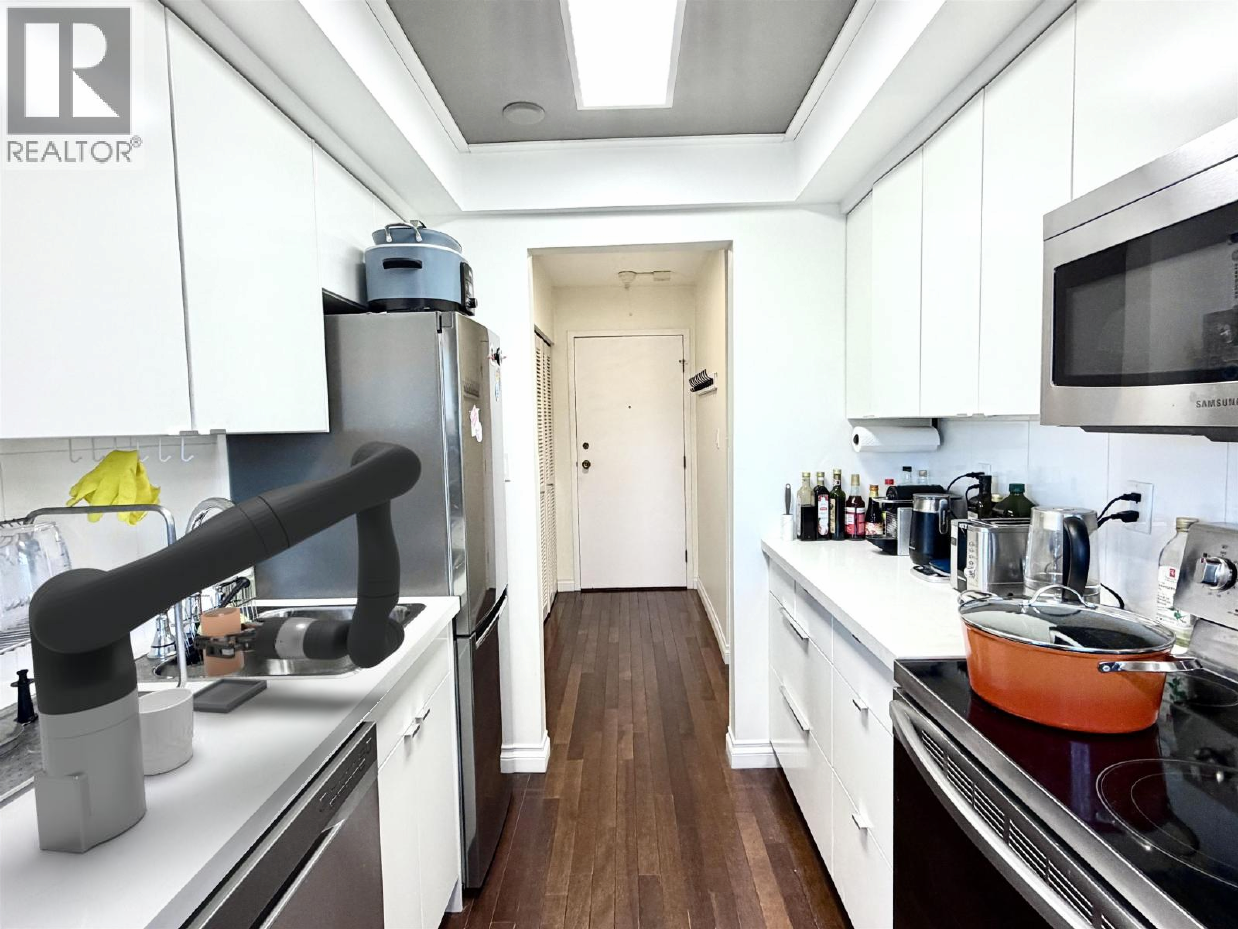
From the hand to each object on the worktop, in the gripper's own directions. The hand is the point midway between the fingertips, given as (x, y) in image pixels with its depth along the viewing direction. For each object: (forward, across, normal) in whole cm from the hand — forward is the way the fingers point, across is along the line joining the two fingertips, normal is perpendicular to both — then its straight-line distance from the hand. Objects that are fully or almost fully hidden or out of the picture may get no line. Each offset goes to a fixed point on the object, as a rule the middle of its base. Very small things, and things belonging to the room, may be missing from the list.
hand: (210, 635), depth 105 cm
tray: (-2, 0, +12) cm, 12 cm away
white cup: (-9, +19, +12) cm, 25 cm away
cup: (-2, 0, +6) cm, 7 cm away
